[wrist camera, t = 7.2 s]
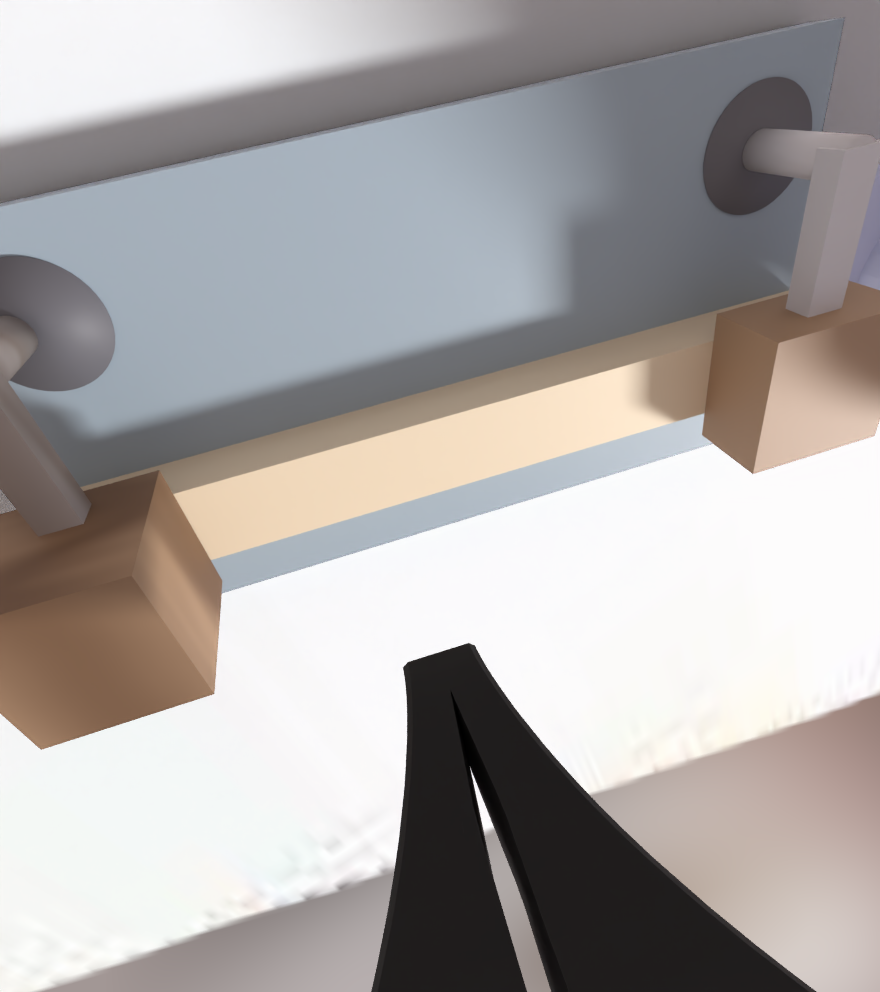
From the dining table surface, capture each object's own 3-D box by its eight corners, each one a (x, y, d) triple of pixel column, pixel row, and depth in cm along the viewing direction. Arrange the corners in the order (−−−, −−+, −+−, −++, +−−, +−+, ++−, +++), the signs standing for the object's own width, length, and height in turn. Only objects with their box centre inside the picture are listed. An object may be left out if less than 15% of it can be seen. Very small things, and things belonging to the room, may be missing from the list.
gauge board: (808, 22, 15) (1023, -7, 11) (742, 414, 22) (856, 489, 18) (-149, 236, 13) (-356, 308, 8) (121, 600, 20) (84, 738, 16)
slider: (88, 294, 13) (3, 393, 9) (224, 547, 18) (214, 693, 14) (-94, 339, 13) (-279, 465, 8) (95, 586, 18) (41, 749, 13)
